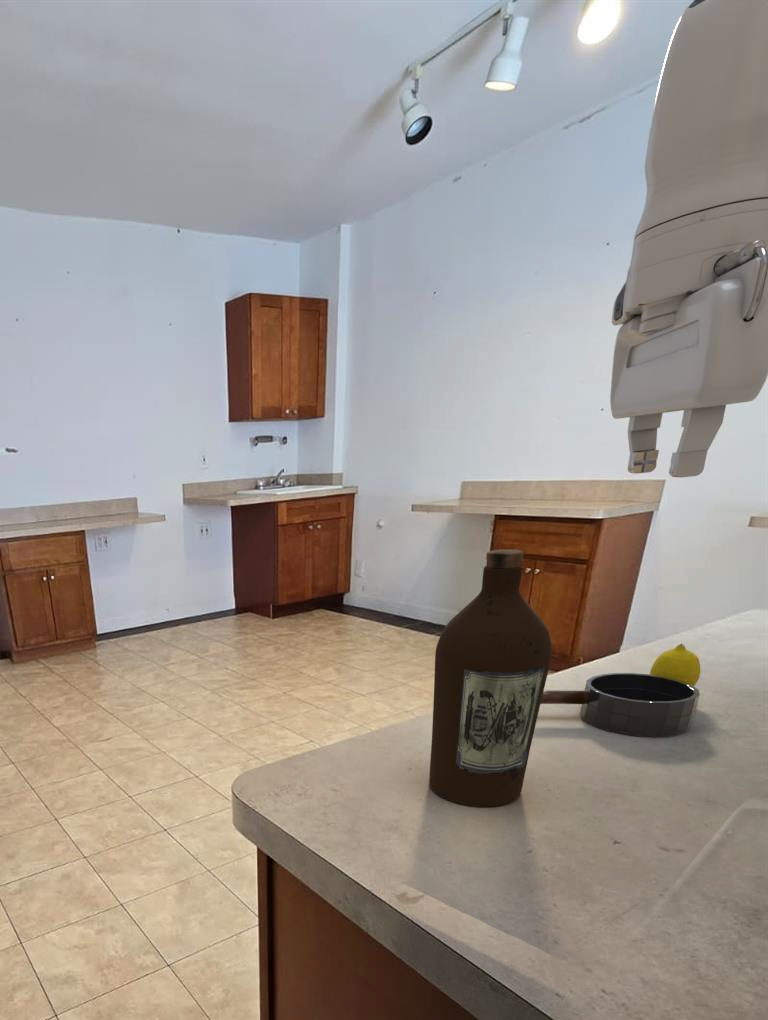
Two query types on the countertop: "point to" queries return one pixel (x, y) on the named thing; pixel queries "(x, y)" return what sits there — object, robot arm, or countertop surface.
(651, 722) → the pan
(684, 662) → the fruit
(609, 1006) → the countertop surface
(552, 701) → the pan handle
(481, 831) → the countertop surface
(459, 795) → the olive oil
